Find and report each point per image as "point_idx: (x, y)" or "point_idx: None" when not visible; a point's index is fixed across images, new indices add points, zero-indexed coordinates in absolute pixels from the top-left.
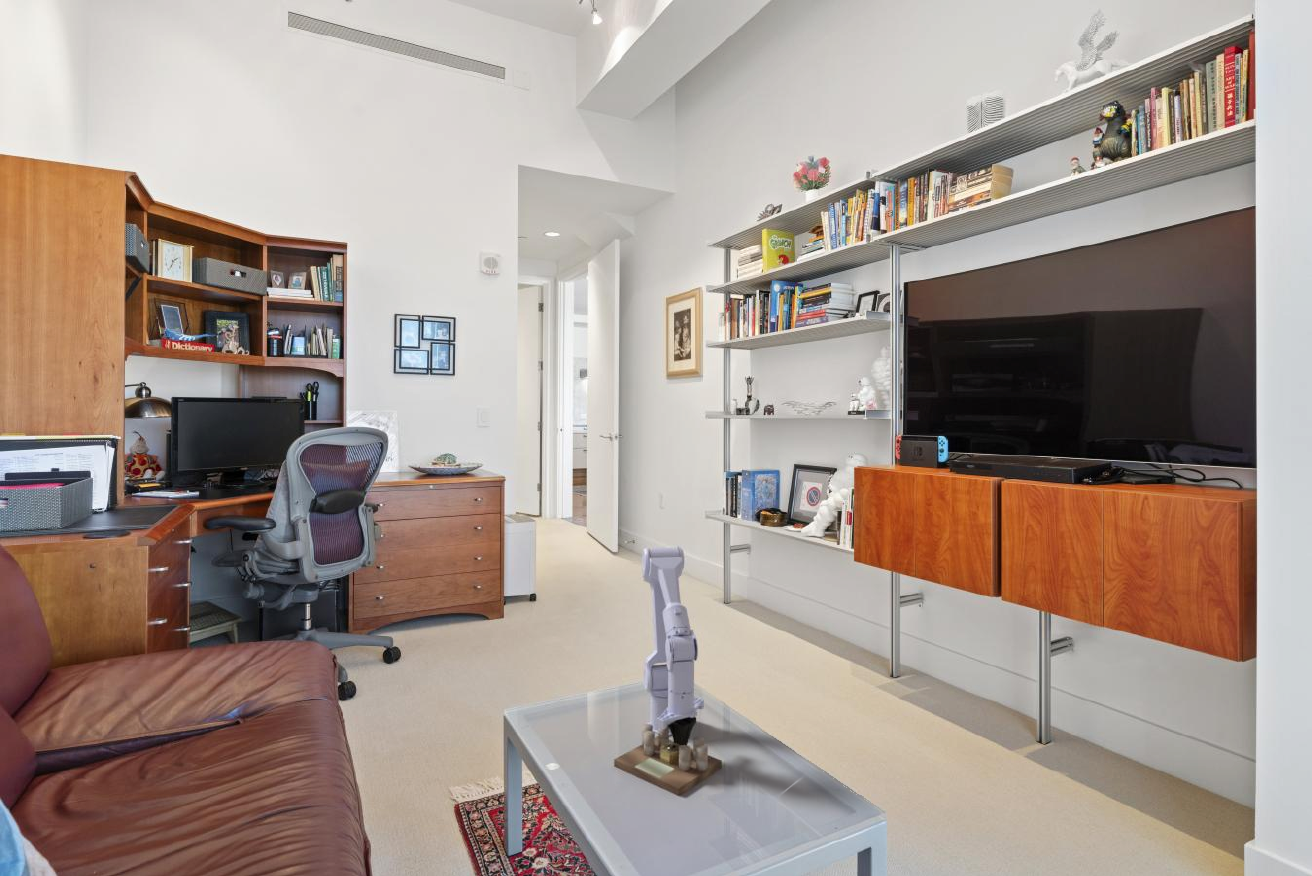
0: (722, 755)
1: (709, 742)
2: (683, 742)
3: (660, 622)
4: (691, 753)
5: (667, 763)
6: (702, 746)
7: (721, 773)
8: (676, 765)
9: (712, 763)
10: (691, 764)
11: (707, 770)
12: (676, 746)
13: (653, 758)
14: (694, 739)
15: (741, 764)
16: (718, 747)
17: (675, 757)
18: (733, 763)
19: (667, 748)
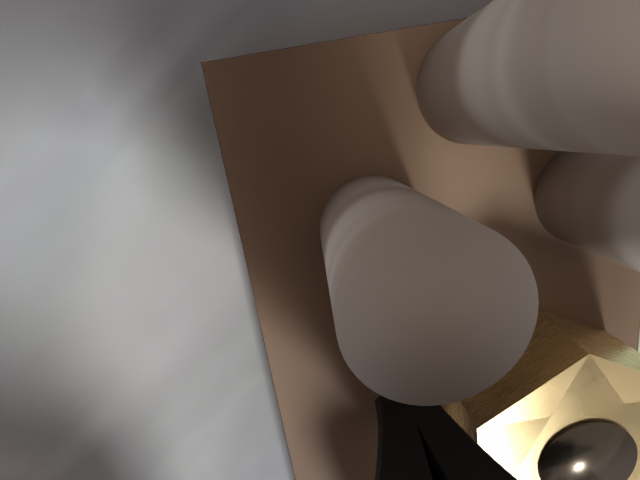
0: (66, 234)
1: (32, 431)
2: (480, 449)
3: None
4: (338, 347)
5: None
6: (631, 56)
7: (279, 12)
8: (587, 277)
9: (321, 84)
10: (487, 206)
11: (454, 21)
12: (537, 446)
13: None
14: (496, 364)
15: (10, 3)
16: (15, 343)
17: (591, 338)
18: (67, 70)
19: (632, 465)
